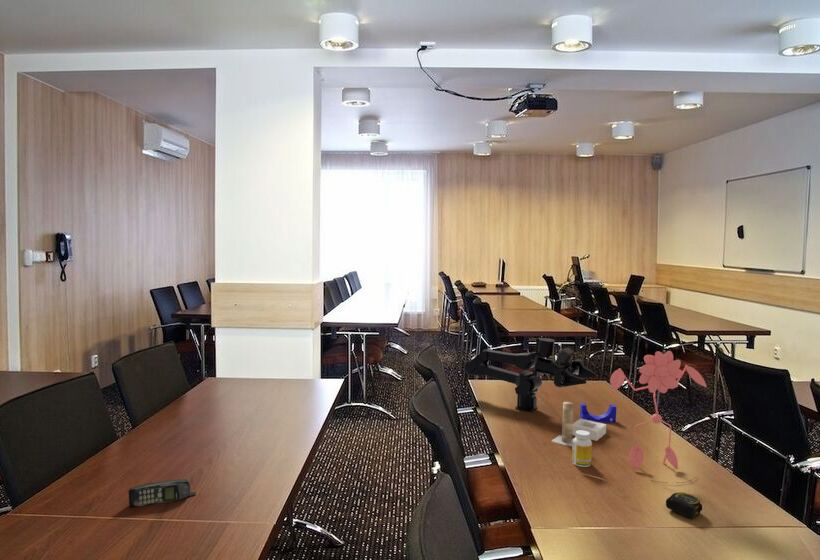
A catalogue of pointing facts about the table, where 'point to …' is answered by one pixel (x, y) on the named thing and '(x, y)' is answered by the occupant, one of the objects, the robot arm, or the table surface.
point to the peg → (567, 422)
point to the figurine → (658, 376)
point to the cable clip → (602, 418)
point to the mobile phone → (159, 492)
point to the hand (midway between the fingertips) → (591, 378)
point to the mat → (559, 440)
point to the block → (590, 428)
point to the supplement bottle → (582, 449)
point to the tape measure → (684, 504)
